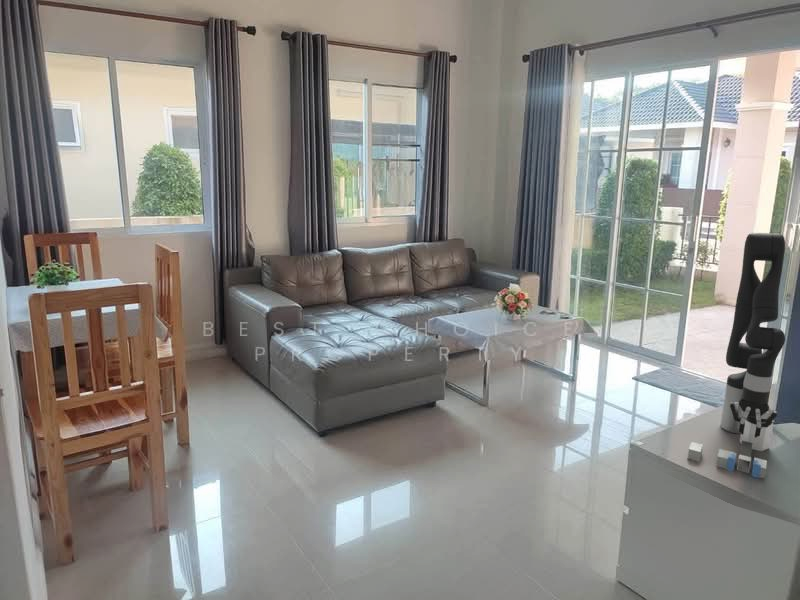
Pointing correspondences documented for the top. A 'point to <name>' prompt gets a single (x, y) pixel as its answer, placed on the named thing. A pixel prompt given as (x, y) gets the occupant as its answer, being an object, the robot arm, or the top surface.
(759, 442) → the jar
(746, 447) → the tall dark pillar
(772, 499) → the top surface
